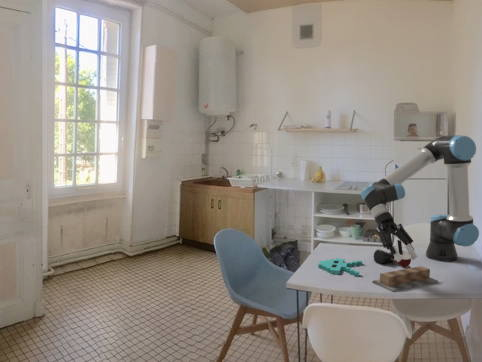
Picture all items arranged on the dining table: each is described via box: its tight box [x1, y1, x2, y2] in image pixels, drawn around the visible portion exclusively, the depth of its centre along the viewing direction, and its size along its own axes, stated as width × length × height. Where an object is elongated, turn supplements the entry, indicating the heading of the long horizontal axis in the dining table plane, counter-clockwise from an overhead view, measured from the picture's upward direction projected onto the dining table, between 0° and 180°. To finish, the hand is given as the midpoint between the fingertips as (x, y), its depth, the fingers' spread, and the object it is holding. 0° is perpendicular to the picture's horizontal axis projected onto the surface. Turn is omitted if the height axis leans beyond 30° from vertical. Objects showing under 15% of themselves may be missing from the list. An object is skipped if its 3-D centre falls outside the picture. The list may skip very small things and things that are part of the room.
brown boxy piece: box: [372, 266, 439, 293], centre depth 177 cm, size 26×12×5 cm, turn 113°
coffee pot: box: [373, 249, 412, 269], centre depth 202 cm, size 8×18×8 cm
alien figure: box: [317, 257, 363, 278], centre depth 199 cm, size 20×2×20 cm
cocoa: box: [395, 239, 412, 268], centre depth 176 cm, size 10×6×12 cm, turn 111°
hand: (407, 259), depth 173 cm, fingers closed on cocoa, 8 cm apart
